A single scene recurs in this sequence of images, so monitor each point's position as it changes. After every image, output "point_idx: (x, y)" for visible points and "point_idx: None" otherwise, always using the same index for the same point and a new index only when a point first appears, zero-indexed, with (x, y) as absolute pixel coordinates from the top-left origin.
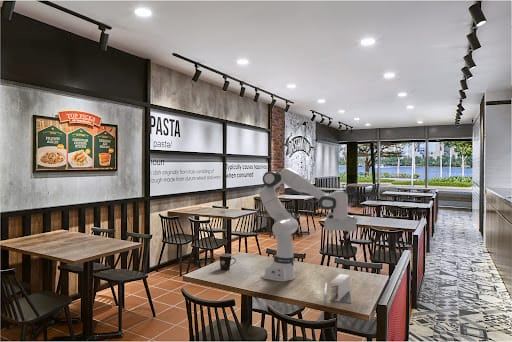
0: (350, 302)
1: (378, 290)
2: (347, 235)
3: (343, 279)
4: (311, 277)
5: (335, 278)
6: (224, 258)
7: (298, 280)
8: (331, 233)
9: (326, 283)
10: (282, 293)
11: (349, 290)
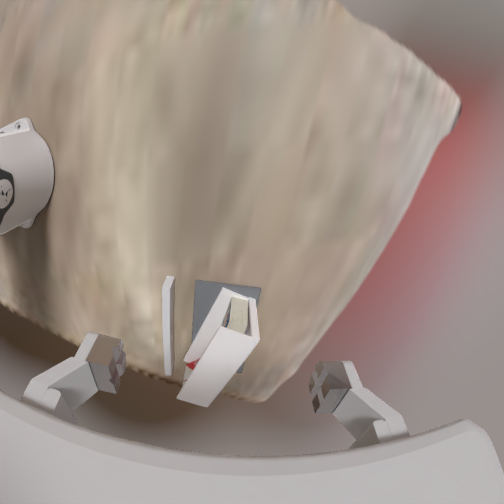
0: (239, 372)
1: (369, 265)
2: (330, 412)
3: (224, 379)
4: (112, 141)
5: (194, 373)
6: None
7: (67, 197)
8: (84, 397)
9: (167, 293)
10: (59, 320)
11: (258, 293)
